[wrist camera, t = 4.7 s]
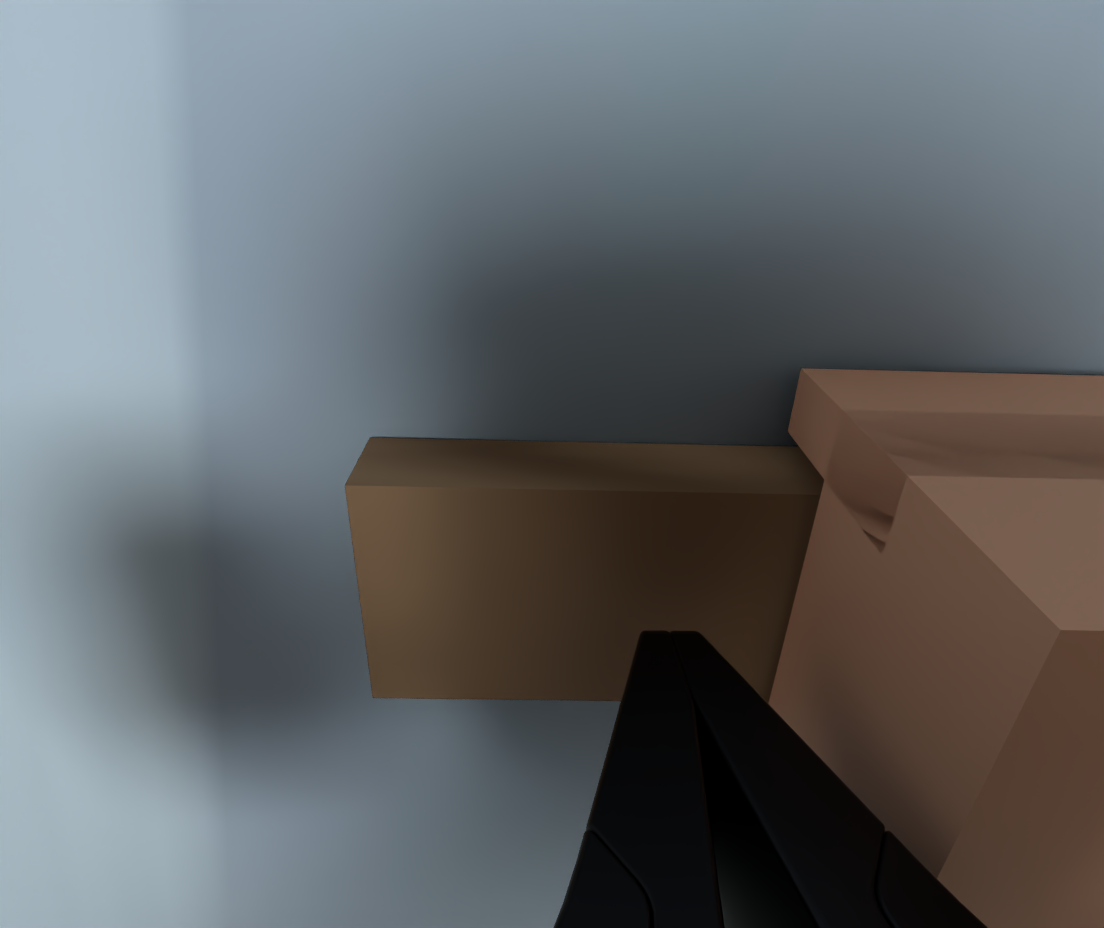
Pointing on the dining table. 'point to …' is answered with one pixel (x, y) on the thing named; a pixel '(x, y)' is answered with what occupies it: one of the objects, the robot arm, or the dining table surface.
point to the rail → (570, 560)
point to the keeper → (960, 626)
